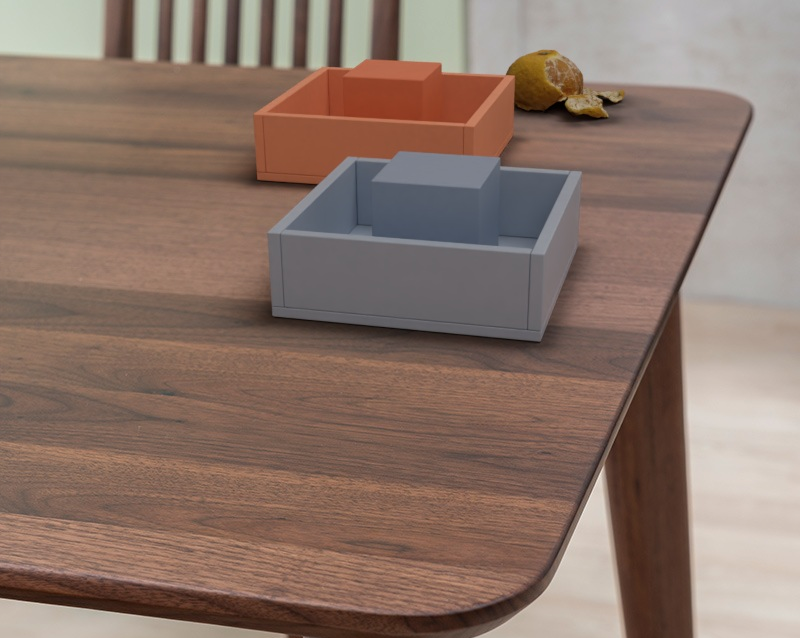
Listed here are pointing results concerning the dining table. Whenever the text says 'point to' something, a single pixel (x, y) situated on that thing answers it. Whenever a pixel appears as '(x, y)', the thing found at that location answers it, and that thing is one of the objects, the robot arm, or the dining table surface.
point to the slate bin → (426, 259)
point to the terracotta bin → (376, 126)
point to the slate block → (437, 198)
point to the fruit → (555, 85)
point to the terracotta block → (394, 90)
